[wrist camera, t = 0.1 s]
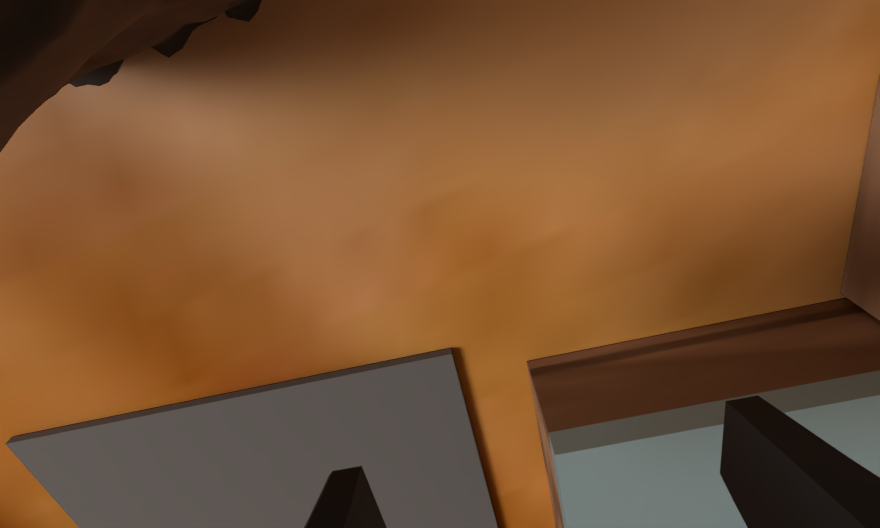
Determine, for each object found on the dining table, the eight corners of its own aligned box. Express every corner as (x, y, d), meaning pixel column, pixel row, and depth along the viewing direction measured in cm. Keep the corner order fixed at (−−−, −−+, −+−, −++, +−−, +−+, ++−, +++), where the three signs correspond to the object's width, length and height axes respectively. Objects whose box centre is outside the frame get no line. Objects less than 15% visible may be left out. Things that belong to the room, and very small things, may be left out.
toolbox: (904, 472, 26) (1004, 570, 21) (557, 533, 27) (584, 637, 23) (1041, 35, 16) (1275, 49, 12) (491, 160, 17) (516, 216, 13)
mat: (506, 559, 28) (507, 566, 28) (168, 617, 29) (165, 625, 29) (451, 347, 21) (451, 353, 21) (11, 437, 22) (5, 443, 22)
